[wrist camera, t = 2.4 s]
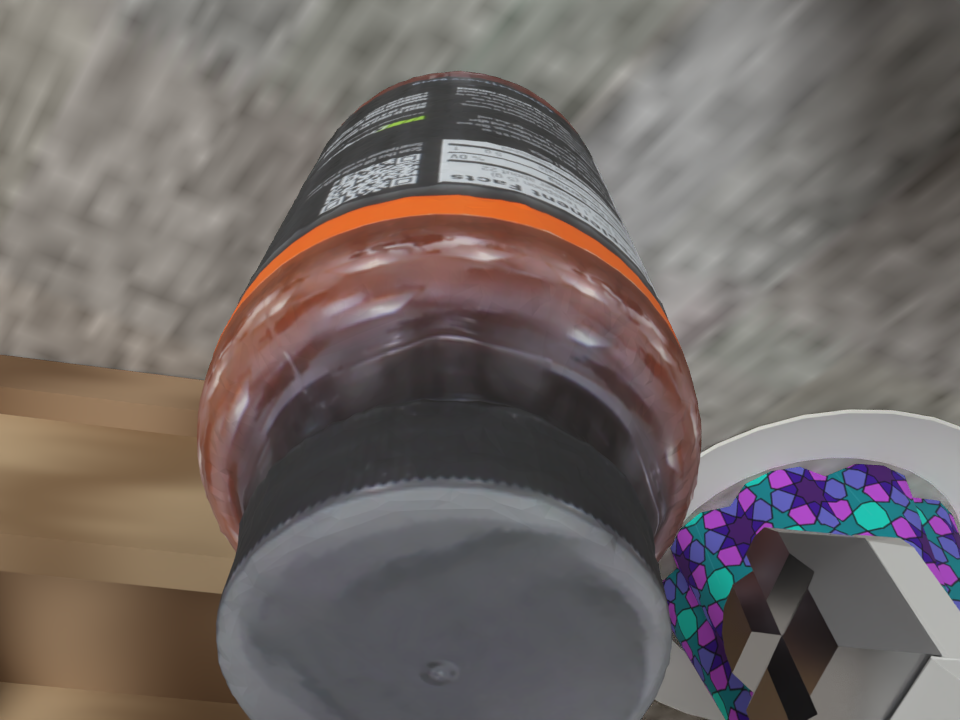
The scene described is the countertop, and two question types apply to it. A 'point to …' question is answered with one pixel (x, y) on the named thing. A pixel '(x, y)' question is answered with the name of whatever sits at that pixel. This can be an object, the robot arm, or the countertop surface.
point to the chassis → (106, 548)
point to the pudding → (800, 525)
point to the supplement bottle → (448, 429)
